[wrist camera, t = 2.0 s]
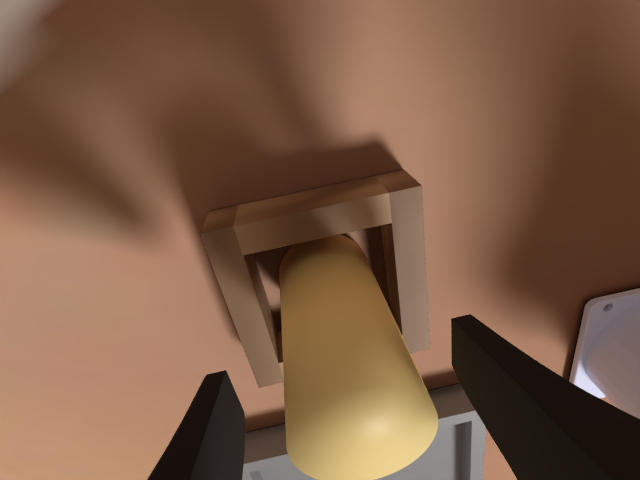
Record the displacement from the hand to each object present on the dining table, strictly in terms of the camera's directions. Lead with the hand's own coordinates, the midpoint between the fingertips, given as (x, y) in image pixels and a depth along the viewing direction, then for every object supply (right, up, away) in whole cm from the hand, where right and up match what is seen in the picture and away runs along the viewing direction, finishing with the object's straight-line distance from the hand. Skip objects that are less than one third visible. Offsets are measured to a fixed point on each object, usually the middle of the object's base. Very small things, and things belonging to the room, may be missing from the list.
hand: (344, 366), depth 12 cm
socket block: (-1, +3, +5) cm, 6 cm away
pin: (-1, +3, +5) cm, 6 cm away
